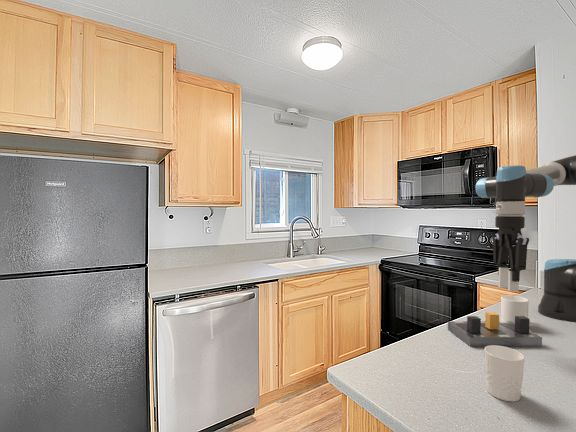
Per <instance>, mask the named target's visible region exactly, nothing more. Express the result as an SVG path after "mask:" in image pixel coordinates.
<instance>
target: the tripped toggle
mask: <svg viewBox="0 0 576 432" xmlns="http://www.w3.org/2000/svg"><path fill="white" fill-rule="evenodd" d="M499 321H500V314H499V313H497V312H493V311H486V312H485V327H487V328H488V329H499Z"/></svg>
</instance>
